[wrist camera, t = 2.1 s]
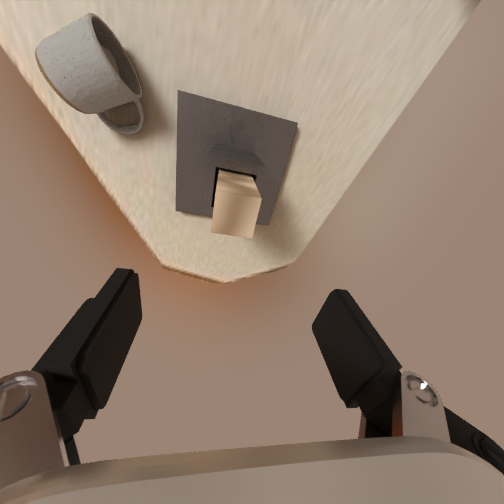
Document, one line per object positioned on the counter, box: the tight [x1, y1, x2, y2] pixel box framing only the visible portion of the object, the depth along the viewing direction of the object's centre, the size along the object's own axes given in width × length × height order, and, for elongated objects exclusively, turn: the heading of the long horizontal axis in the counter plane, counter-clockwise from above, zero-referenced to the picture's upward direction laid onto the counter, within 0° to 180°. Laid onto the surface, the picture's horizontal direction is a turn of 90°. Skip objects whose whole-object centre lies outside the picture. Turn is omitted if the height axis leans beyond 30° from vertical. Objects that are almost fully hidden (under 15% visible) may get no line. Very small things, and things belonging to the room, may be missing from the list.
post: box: [211, 168, 262, 238], centre depth 26 cm, size 4×4×19 cm
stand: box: [176, 90, 298, 225], centre depth 30 cm, size 18×18×14 cm
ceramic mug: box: [35, 13, 144, 134], centre depth 25 cm, size 11×8×8 cm
